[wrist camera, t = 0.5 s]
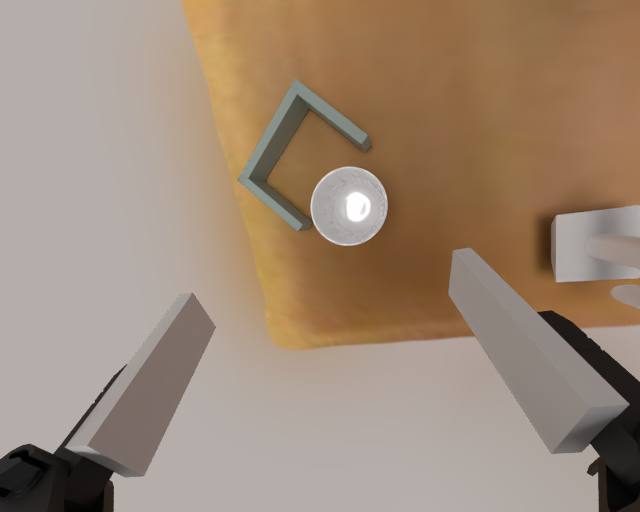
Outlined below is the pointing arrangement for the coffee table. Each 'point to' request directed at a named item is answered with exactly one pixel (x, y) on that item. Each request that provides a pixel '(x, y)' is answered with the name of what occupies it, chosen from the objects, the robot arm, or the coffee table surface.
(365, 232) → the white cup
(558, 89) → the coffee table surface
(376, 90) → the coffee table surface
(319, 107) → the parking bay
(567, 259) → the figurine
